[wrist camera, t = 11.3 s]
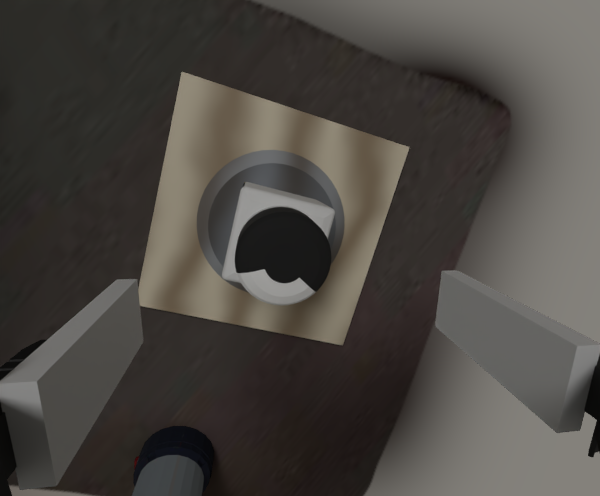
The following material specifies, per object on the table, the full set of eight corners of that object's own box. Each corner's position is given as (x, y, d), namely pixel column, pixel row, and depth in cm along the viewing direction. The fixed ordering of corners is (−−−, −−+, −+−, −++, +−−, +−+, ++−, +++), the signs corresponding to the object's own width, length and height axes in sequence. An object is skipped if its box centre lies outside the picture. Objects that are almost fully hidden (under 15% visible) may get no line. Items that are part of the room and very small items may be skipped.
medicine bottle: (243, 180, 30) (239, 190, 19) (318, 200, 32) (357, 220, 20) (226, 255, 32) (213, 307, 20) (299, 271, 33) (325, 327, 22)
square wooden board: (138, 300, 34) (130, 311, 32) (184, 74, 30) (178, 66, 28) (340, 341, 39) (346, 352, 36) (405, 147, 34) (416, 146, 32)
